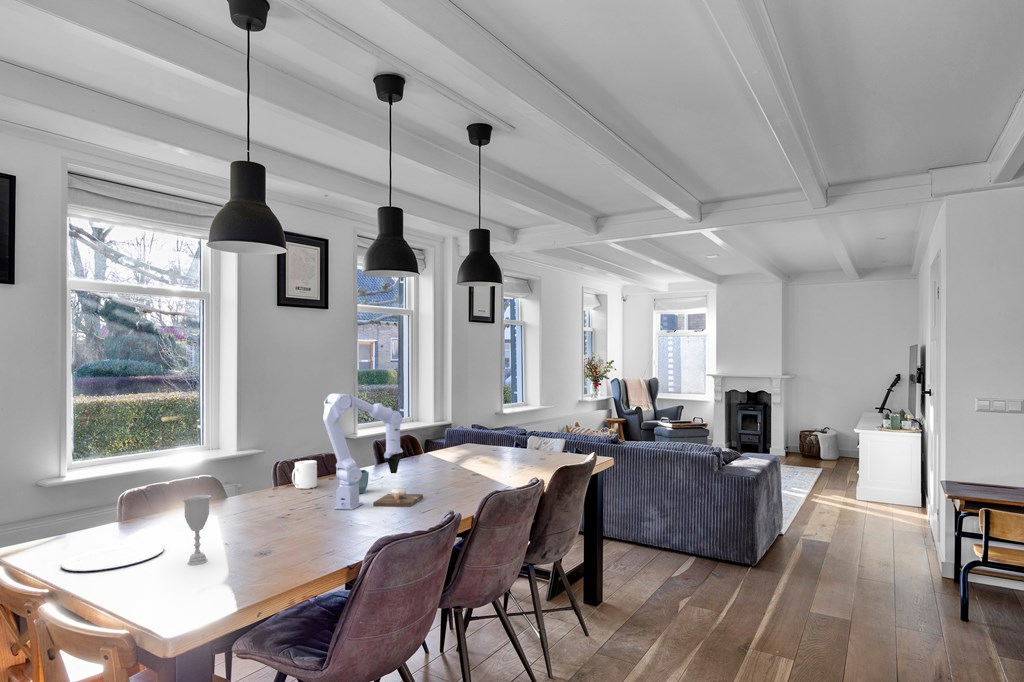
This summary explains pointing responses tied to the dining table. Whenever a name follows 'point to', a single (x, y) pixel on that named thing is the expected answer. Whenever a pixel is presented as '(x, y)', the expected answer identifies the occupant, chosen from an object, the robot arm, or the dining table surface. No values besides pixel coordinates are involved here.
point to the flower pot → (363, 481)
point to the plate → (155, 552)
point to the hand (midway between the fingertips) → (393, 473)
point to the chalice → (197, 522)
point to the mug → (305, 474)
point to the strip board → (401, 502)
